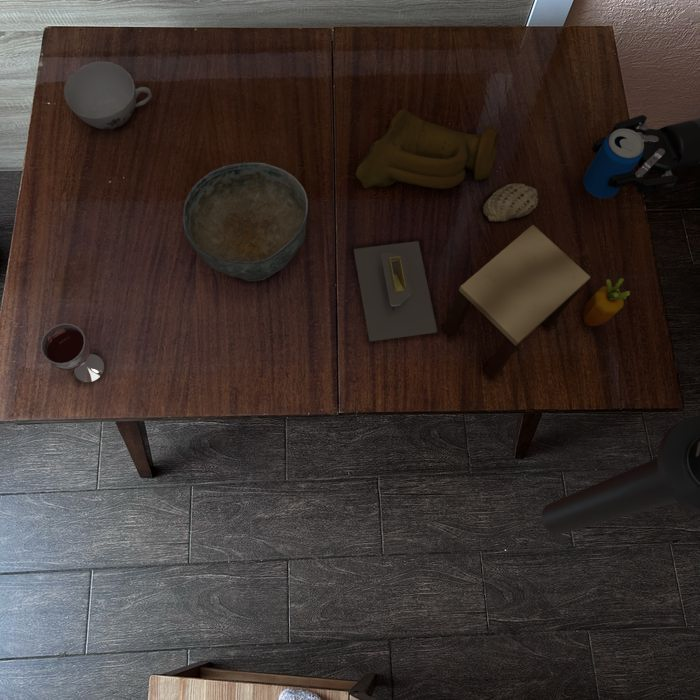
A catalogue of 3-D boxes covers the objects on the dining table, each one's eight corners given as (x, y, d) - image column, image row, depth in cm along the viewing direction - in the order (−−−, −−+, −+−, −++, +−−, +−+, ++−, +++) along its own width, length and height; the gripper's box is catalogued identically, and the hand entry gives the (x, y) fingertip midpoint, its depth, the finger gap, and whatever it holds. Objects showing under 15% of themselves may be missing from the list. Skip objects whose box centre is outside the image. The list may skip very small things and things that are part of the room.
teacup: (79, 148, 131) (64, 120, 124) (77, 94, 135) (62, 64, 128) (160, 138, 132) (149, 110, 125) (155, 85, 136) (145, 55, 129)
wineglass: (110, 348, 118) (87, 322, 107) (108, 386, 116) (83, 364, 104) (70, 349, 118) (42, 323, 106) (66, 388, 115) (38, 365, 104)
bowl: (323, 223, 127) (322, 176, 113) (288, 316, 121) (282, 278, 107) (222, 193, 129) (209, 143, 114) (182, 283, 122) (163, 242, 108)
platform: (418, 240, 126) (422, 222, 120) (437, 332, 120) (443, 317, 114) (353, 249, 125) (354, 231, 119) (369, 341, 120) (371, 327, 113)
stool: (554, 321, 122) (590, 277, 105) (491, 379, 118) (518, 342, 101) (505, 274, 125) (532, 224, 108) (442, 329, 121) (460, 286, 104)
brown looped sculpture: (388, 81, 129) (505, 101, 124) (387, 141, 139) (495, 162, 134) (354, 135, 118) (481, 159, 113) (355, 196, 128) (472, 221, 123)
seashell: (508, 240, 130) (546, 199, 128) (506, 235, 124) (546, 191, 123) (478, 214, 132) (514, 173, 130) (474, 207, 126) (512, 164, 124)
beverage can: (590, 163, 125) (616, 120, 113) (624, 179, 124) (652, 137, 112) (575, 190, 123) (600, 148, 112) (609, 206, 122) (637, 166, 110)
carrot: (567, 315, 122) (598, 278, 108) (592, 306, 123) (627, 268, 109) (580, 340, 121) (613, 306, 106) (605, 331, 121) (642, 296, 107)
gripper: (684, 94, 117) (593, 115, 115) (722, 164, 112) (628, 187, 111) (664, 123, 124) (578, 143, 122) (699, 190, 119) (610, 212, 118)
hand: (602, 164), depth 116 cm, fingers closed on beverage can, 6 cm apart
